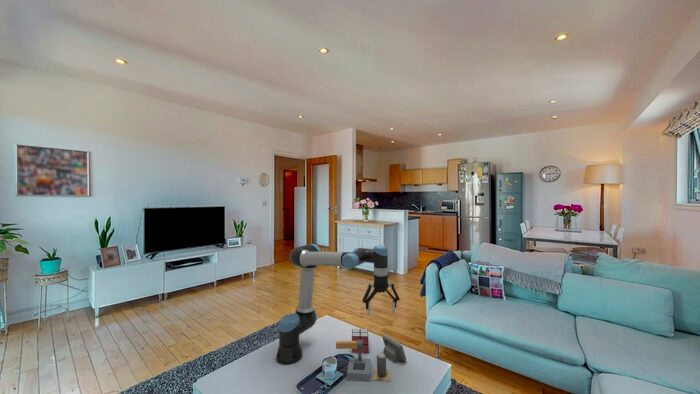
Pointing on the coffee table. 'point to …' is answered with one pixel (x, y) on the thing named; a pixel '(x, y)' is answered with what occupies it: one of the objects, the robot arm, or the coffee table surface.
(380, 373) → the plug
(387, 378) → the coaster
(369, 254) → the robot arm
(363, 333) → the puzzle cube
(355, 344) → the wooden handle
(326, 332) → the coffee table surface
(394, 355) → the digital clock
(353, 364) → the socket
